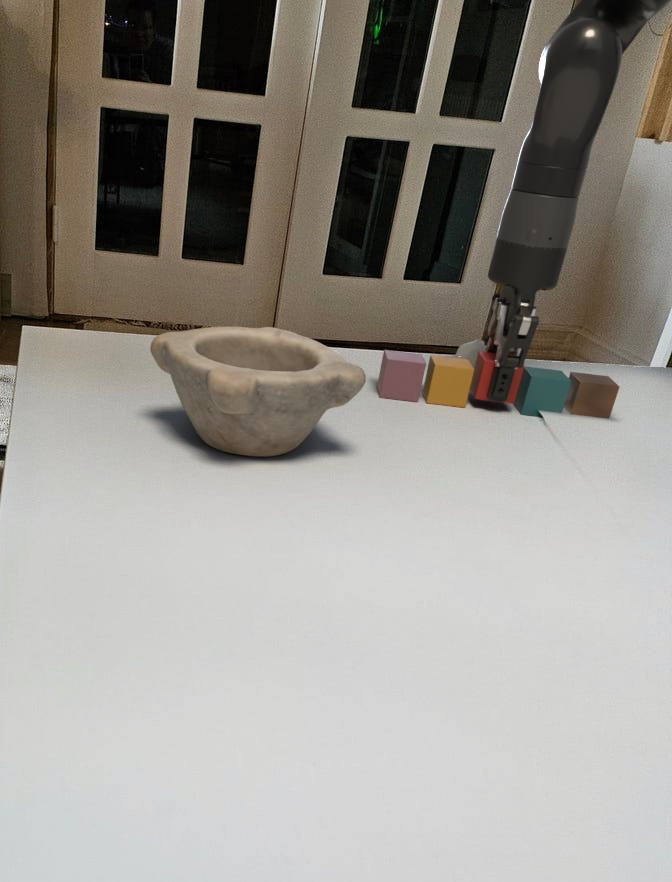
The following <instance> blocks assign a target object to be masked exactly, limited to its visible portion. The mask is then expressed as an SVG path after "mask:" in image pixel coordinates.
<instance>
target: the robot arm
mask: <svg viewBox="0 0 672 882" xmlns="http://www.w3.org/2000/svg"><path fill="white" fill-rule="evenodd" d="M671 1H672V0H579V1H578V2H577V4H575V6H574V8H573V9H572V10H571V11H570V13H569V14H568V15H567V16H566V17H565V18H564V20H563V21H562V22H561V24H560V25H559V26H558V28H557V29H556V30H555V31H554V33H553V34H552V35H551V36H550V38H549V40H548V41H547V43H546V44H545V46H544V49H543V50H542V53H541V56H540V59H539V62H538V63H539V64H538V77H539V81H540V88H539V91H538V97H537V101H536V105H535V108H534V109H535V110H534V114H533V117H532V118H533V119H532V122H531V128H530V129H529V131H528V133H527V135H526V136H525V138H524V140H523V143H522V146H521V148H520V151H519V156H518V158H517V163H516V167H515V171H514V176H513V178H512V179H513V180H512V183H511V189H510V191H509V194H508V197H507V200H506V202H505V205H504V207H503V211H502V214H501V218H500V222H499V227H498V230H497V234H496V238H495V243H494V246H493V252H492V255H491V260H490V263H489V267H488V271H487V278H488V279H489V280H490V281H491V282H493V283H494V284H498V285H501V286H502V289H501V290H500V293H498V292H493V295H492V297H491V303H490V309H489V315H488V321H487V325H486V330H485V336H484V338H483V341H484V345H486V348H485V352H492V353H496V359H495V361H494V364H495V366H494V369H493V373H492V377H491V381H490V385H489V389H488V393H487V397H488V399H489V400H491V401H490V402H495V401H500V402H499V403H503V402H504V401H506V400H507V397H508V393H509V390H510V386H511V382H512V379H513V375H514V371H515V370H517V369H518V368H522V367H523V365H524V366H525V361H526V358H527V356H528V354H529V353H528V352H529V350H530V347H531V344H532V342H533V339H534V336H535V333H536V331H537V328H538V325H539V322H540V319H539V316H536V314H537V306H536V305H535V302H536V301H535V300H536V294H537V293H538V291H551V290H553V289H555V288H556V287H557V286H558V282H559V279H560V275H561V272H562V268H563V264H564V261H565V257H566V254H567V251H568V247H569V244H570V240H571V236H572V233H573V229H574V226H575V221H576V217H577V216H576V215H577V209H578V204H579V200H580V199H579V197H580V194H581V191H582V187H583V184H584V181H585V177H586V173H587V169H588V166H589V161H590V157H591V153H592V148H593V144H594V141H595V138H596V136H597V135H598V132H599V129H600V126H601V124H602V122H603V119H604V116H605V113H606V112H607V109H608V107H609V103H610V101H611V98H612V95H613V92H614V89H615V87H616V82H617V80H618V76H619V73H620V68H621V63H622V58H623V55H624V53H625V52H626V51H627V49H628V48H629V47H630V46H631V44H632V43H633V42H634V40H635V39H636V38H637V36H638V35H639V34H640V32H641V31H642V30H643V28H644V27H645V26H646V25H647V24H648V22H649V21H650V20H651V19H653V17H654V16H656V15H657V14H659V13H660V12H661V11H662V10H663V9H664V8H665V7H666V6H667V5H668V4H669V3H670V2H671ZM511 349H514V352H513V354H509V353H510V351H511ZM513 355H514V356H513Z"/></svg>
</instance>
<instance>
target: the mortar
mask: <svg viewBox="0 0 672 882" xmlns="http://www.w3.org/2000/svg"><path fill="white" fill-rule="evenodd" d="M149 347H150V348H149V349H150V353H151V356H152V357H153V359H154V361H155V363H156V365H157V366H158V367H159V369H161V371H163V372H164V373H167V374H168V375H170V378H171V381H172V384H173V386H174V389H175V391H176V394H177V397H178V399H179V401H180V404H181V406H182V408H183V409H184V411H185V413H186V415H187V417H188V419H189V421H190V423H191V425H192V427H193V429H194V430H195V432H196V434H197V435H198V436H199V438H200V440H202V441H203V442H204V443H205V444H207V445H208V446H209V447H211V448H213V449H216V450H218V451H221V452H225V453H229V454H233V455H241V456H246V457H247V456H248V457H275V456H280V455H284V454H287V453H290V452H291V451H293V450H294V449H296V448H297V447H298V446H300V445H301V444H302V443H303V442H304V441H305V440H306V438H308V437H309V435H310V434H311V432H313V430H314V428H315V427H316V426H317V424H318V423H319V422H320V420H321V419H322V418H323V416H324V414H325V413H326V412H327V411H328V410H330V409H334V408H339V407H343V406H346V404H348V403H349V402H350V401H351V400H352V399H354V397H356V396H357V395H358V394H359V393H360V391H361V390H362V389H363V388H364V386H365V384H366V373H365V371H364V369H363V368H362V367H361V366H360V365H359V364H356V363H353V362H350V361H347V359H345V357H344V356H343V355H342V354H341V353H339V352H338V351H337V350H335V349H333V348H331V347H329V346H327V345H324V344H323V343H321V342H319V341H318V340H314V339H312V338H309V337H306V336H304V335H300V334H298V333H295V332H294V331H289V330H286V329H280V328H277V327H273V326H264V327H248V326H247V327H245V326H212V327H211V326H210V327H201V328H194V329H188V330H183V331H182V330H181V331H167V332H164V333H161V334H158V335H156V336H155V337H154V338H153V339H152V341H151V343H150V346H149Z"/></svg>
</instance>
